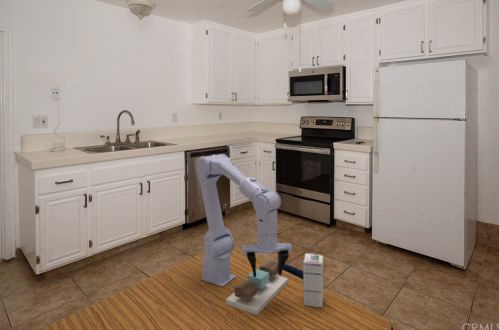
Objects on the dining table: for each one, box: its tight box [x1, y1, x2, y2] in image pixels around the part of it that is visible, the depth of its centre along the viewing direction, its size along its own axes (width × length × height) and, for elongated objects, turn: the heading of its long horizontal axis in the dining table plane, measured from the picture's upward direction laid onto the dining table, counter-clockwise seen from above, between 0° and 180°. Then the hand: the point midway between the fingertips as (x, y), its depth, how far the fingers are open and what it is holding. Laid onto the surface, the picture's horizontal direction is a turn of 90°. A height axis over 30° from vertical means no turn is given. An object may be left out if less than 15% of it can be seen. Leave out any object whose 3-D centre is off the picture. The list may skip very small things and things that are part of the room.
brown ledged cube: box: [234, 278, 257, 301], centre depth 98 cm, size 5×5×3 cm
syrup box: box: [302, 253, 324, 308], centre depth 98 cm, size 6×6×14 cm
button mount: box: [225, 274, 289, 316], centre depth 104 cm, size 11×21×4 cm, turn 148°
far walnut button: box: [259, 259, 279, 278], centre depth 110 cm, size 5×5×3 cm
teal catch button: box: [247, 268, 269, 289], centre depth 104 cm, size 5×5×3 cm
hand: (267, 274), depth 97 cm, fingers open, 7 cm apart
